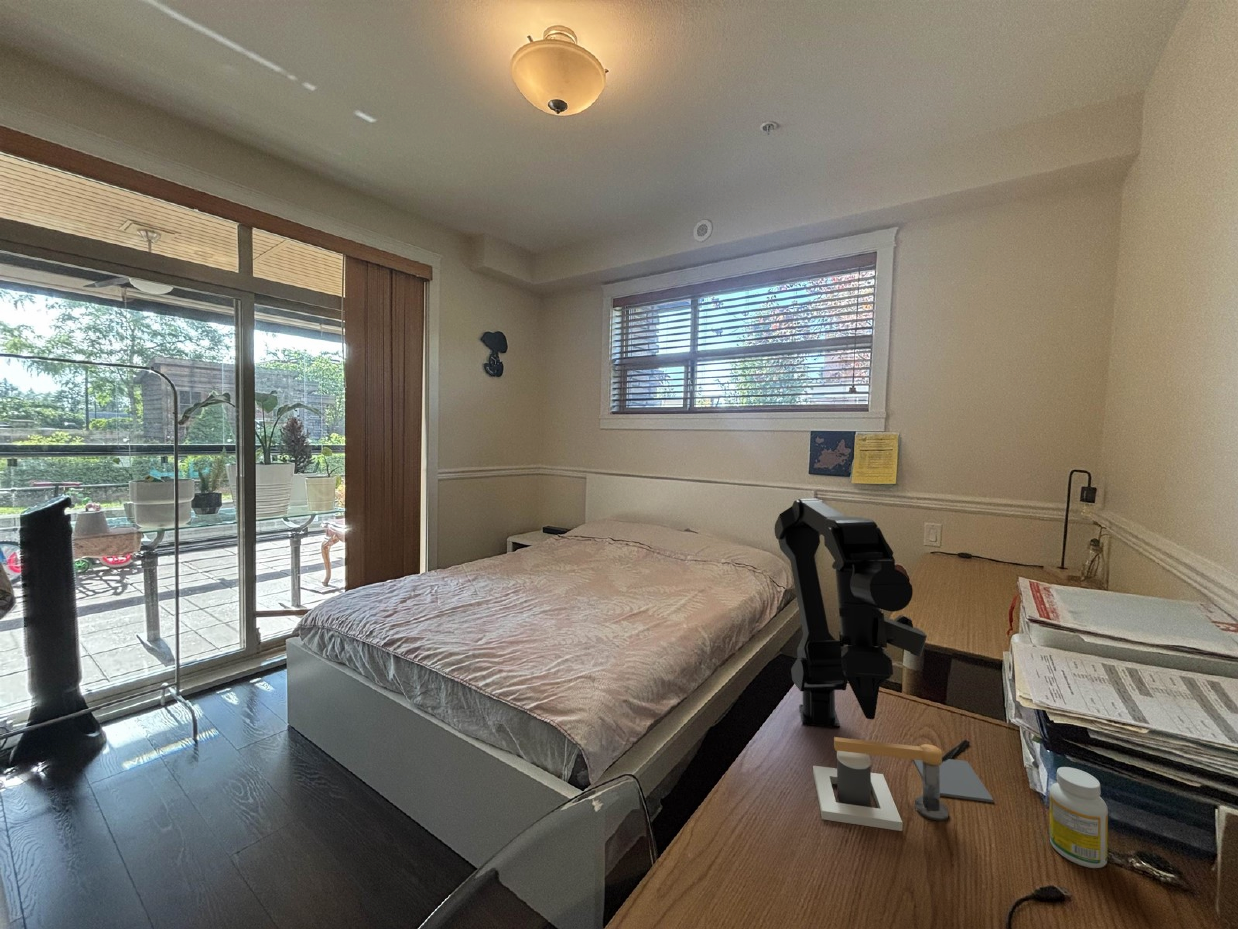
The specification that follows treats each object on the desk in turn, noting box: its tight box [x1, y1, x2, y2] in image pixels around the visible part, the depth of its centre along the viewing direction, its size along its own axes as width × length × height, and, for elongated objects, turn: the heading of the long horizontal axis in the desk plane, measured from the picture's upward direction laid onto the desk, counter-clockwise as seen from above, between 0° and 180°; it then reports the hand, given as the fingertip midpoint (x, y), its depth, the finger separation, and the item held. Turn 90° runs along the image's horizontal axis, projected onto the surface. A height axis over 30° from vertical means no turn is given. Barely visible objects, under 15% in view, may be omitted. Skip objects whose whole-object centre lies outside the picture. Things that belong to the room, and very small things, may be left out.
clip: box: [833, 736, 943, 765], centre depth 71 cm, size 3×14×1 cm, turn 75°
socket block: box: [812, 765, 903, 832], centre depth 72 cm, size 10×10×1 cm
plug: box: [836, 751, 872, 807], centre depth 72 cm, size 4×4×6 cm
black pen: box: [942, 739, 970, 762], centre depth 82 cm, size 12×1×1 cm, turn 124°
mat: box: [912, 758, 995, 803], centre depth 76 cm, size 9×8×1 cm
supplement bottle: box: [1049, 766, 1109, 869], centre depth 62 cm, size 5×5×10 cm
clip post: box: [914, 761, 949, 822], centre depth 70 cm, size 4×4×7 cm
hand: (867, 707), depth 75 cm, fingers open, 9 cm apart
